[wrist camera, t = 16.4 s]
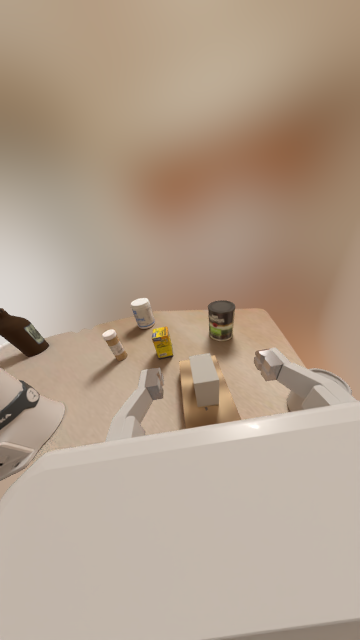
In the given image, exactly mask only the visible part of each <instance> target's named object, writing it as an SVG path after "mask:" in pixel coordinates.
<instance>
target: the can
mask: <svg viewBox="0 0 360 640" xmlns="http://www.w3.org/2000/svg"><path fill="white" fill-rule="evenodd" d="M309 370H310V371H313V372H315V373H317V374H319V375H321V376H324V377H326V378H328V379H330V380H332V381H335V382H336V383H337V384H339V385H340V386H341V387H342V388H343V389H344V390H346V391H347V392H348V393H349V394H350V395H352V390H351V388H350V386H349V385H348V384H347V383H346V382H345V381H344V380H343V379H341V378H340V377H339V376H337V375H335V374H333V373H331V372H329V371H326V370H322V369H309ZM304 400H305V399H303V398H302V397H300V396H299V395H297V394H296V393H295V392H293V391H292V390H291V391H290V393H289V395H288V397H287V405H288V408H289V410H290V411H291V412H293V411H299V410H304V409H303V407H302V406H301V405H302V403H303V401H304Z"/></svg>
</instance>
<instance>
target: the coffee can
mask: <svg viewBox="0 0 360 640" xmlns="http://www.w3.org/2000/svg"><path fill="white" fill-rule="evenodd" d="M208 309H209V335H210V337H211V338H213V339H214V340H217V341H226V340H229V339H230V338H232V336H233V324H234V312H235V305H234V304H233V303H232V302H229V301H215V302H212V303H210V304H209V305H208Z"/></svg>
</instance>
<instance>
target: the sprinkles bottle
mask: <svg viewBox="0 0 360 640" xmlns="http://www.w3.org/2000/svg"><path fill="white" fill-rule="evenodd" d="M102 337H103V338H104V340H105V341H106V342H107V344H108V346H109V347H110V349H111V351H112V352H113V354H114V355H115V357H116V359H117V360H118V361H121V360H123V359H125V358H126V357H127V353H126V352H125V350H124V348H123V346H122V344H121V342H120V340H119V339H118V337H117V334H116V332H115V331H114V330H108V331H106V332H104V333H103V335H102Z"/></svg>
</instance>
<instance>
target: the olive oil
mask: <svg viewBox="0 0 360 640" xmlns="http://www.w3.org/2000/svg"><path fill="white" fill-rule="evenodd" d="M0 335H1V336H2V337H4V338H5V339H6V340H7V341H9V342H10V343H11V344H13V345H14V346H15V347H16V348H18V349H19V350H20V351H21V352H23V353H24V354H25V355H26V356H28V357H30V356H34V355H37V354H39V353H41V352H43V351H44V350H45V349H47V348H48V346H49V344H48V343H47V342H46V341H45V340H44V338H43V337H42V336H41V335H40V334H39V332H38V331H37V330H36V329H35V327H34V326H33V325H32V324H31V323H30V322H29V321H28V320H26V319H25V318H21V317H16V316H11V315H9V314H8V313H7V312H6V311H4V309H2V308H0Z"/></svg>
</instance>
